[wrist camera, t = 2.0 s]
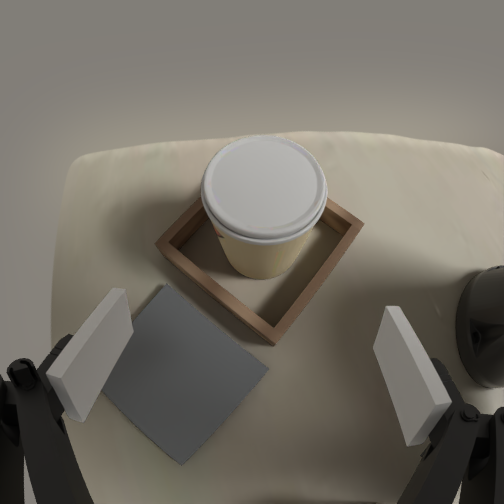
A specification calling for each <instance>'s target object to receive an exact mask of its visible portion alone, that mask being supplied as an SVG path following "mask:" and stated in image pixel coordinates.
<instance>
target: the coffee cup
mask: <svg viewBox="0 0 504 504" xmlns="http://www.w3.org/2000/svg"><path fill="white" fill-rule="evenodd" d="M201 198H202V203H203V206H204V208H205V210H206V212H207V214H208V216H209V218H210V219H211V222H212V224H213V227H214V229H215V232H216V234H217V236H218V239H219V241H220V243H221V246H222V248H223V250H224V252H225V255H226V257H227V259H228V261H229V262H230V264H231V265H232V266H233V267H234V268H235V269H236V270H237V271H238V272H239V273H241V274H243V275H245V276H247V277H250V278H253V279H270V278H274V277H277V276H279V275H281V274H282V273H284V272H285V271H286V270H288V269H289V267H290V266H291V265H292V264H293V262H294V261H295V259H296V257H297V256H298V254H299V252H300V250H301V249H302V247H303V245H304V243H305V241H306V240H307V238H308V236H309V234H310V232H311V230H312V229H313V227H314V225H315V224H316V222H317V221H318V220H319V218H320V217H321V215H322V213H323V211H324V208H325V205H326V201H327V183H326V179H325V176H324V173H323V171H322V169H321V167H320V165H319V163H318V162H317V160H316V159H315V158H314V157H313V155H312V154H311V153H310V152H308V151H307V150H306V149H305V148H303V147H302V146H300V145H299V144H297V143H295V142H293V141H291V140H288V139H286V138H282V137H277V136H271V135H255V136H248V137H244V138H241V139H238V140H236V141H233V142H231V143H229V144H228V145H226V146H225V147H223V148H222V149H221V150H220V151H219V152H217V153H216V154H215V156H214V157H213V158H212V160H211V161H210V163H209V164H208V166H207V168H206V170H205V172H204V175H203V178H202V182H201Z"/></svg>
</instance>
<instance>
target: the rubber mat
mask: <svg viewBox="0 0 504 504" xmlns="http://www.w3.org/2000/svg"><path fill="white" fill-rule="evenodd" d="M132 326H133V331H134V332H133V334H132V336H131V337H130V339H129V341H128V343H127V344H126V346H125V348H124V350H123V351H122V353H121V355H120V357H119V358H118V360H117V362H116V364H115V366H114V367H113V369H112V371H111V373H110V375H109V376H108V378H107V380H106V382H105V384H104V386H103V388H102V389H101V390H102V391H103V392H104V393H105V395H106V396H107V397H108V398H109V399H110V400H111V401H112V402H113V403H114V404H115V405H116V406H117V407H118V408H119V409H120V410H121V411H122V412H123V413H124V414H125V415H126V416H127V417H128V418H129V419H130V420H131V421H132V422H133V423H134V424H135V425H136V426H137V427H138V428H139V429H140V430H141V431H142V432H143V433H144V434H145V435H146V436H148V437H149V438H150V439H151V440H152V441H153V442H154V443H155V444H156V445H158V446H159V447H160V448H161V449H162V450H163V451H164V452H166V453H167V454H168V455H169V456H170V457H172V458H173V459H174V460H175V461H176V462H178V463H179V464H180V465H181V466H182V465H183V464H184V463H185V462H186V461H187V460H188V459H189V458H190V457H191V456H192V455H193V454H194V453H195V452H196V451H197V449H198V448H199V447H200V446H201V445H202V444H203V443H204V442H205V441H206V440H207V439H208V438H209V437H210V436H211V435H212V434H213V433H214V432H215V430H216V429H217V428H218V427H219V426H220V425H221V424H222V423H223V422H224V421H225V420H226V418H227V417H228V416H229V415H230V414H231V413H232V412H233V411H234V410H235V408H236V407H237V406H238V405H239V404H240V403H241V402H242V400H243V399H244V398H245V397H246V396H247V395H248V394H249V392H250V391H251V390H252V389H253V388H254V387H255V385H256V384H257V383H258V382H259V381H260V379H261V378H262V377H263V376H264V375H265V373H266V372H267V371H268V370H269V368H268V367H266V366H265V365H264V364H262V363H261V362H260V361H259V360H257V359H256V358H255V357H253V356H252V355H251V354H250V353H248V352H247V351H246V350H245V349H243V348H242V347H241V346H240V345H238V344H237V343H236V342H235V341H233V340H232V339H231V338H230V337H229V336H227V335H226V334H225V333H224V332H222V331H221V330H220V329H219V328H218V327H216V326H215V325H214V324H213V323H212V322H210V321H209V320H208V319H207V318H206V317H205V316H203V315H202V314H201V313H200V312H199V311H198V310H196V309H195V308H194V307H193V306H192V305H191V304H189V303H188V302H187V301H186V300H185V299H184V298H183V297H182V296H180V295H179V294H178V293H177V292H176V291H175V290H174V289H173V288H171V287H170V286H169V285H168V284H167V283H166V285H165V286H164V287H163V288H162V289H161V290H160V291H159V292H158V294H157V295H156V296H155V297H154V298H153V299H152V300H151V301H150V303H149V304H148V305H147V306H146V307H145V308H144V309H143V311H142V312H141V313H140V314H139V315H138V316H137V317H136V319H135V320H134V321H133V322H132Z"/></svg>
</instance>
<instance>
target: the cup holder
mask: <svg viewBox="0 0 504 504" xmlns="http://www.w3.org/2000/svg"><path fill="white" fill-rule="evenodd" d="M208 218H209V216H208V214H207V212H206V210H205V208H204V206H203V203H202V198H201V197H200V198H199V199H198V200H197V201H196V202H195V203H194V204H193V205H192V206H191V207H190V208H189V209H188V210H187V211H186V212H185V213H184V214H183V215H182V216H181V217H180V218H179V219H178V220H177V221H176V222H175V223H174V224H173V225H172V226H171V227H170V228H169V229H168V230H167V231H166V232H165V233H164V234H163V235H162V236H161V237H160V238H159V239H158V240H157V242H156V243H155V245H156V246H157V248H158V249H159V251H160V252H161V253H162V255H163V256H165V257H166V258H167V259H168V260H169V261H170V262H171V263H173V264H174V265H175V266H176V267H177V268H178V269H179V270H181V271H182V272H183V273H184V274H185V275H186V276H188V277H189V278H190V279H191V280H192V281H193V282H195V283H196V284H197V285H198V286H199V287H200V288H202V289H203V290H204V291H205V292H206V293H208V294H209V295H210V296H211V297H212V298H214V299H215V300H216V301H217V302H218V303H220V304H221V305H222V306H223V307H225V308H226V309H227V310H228V311H229V312H231V313H232V314H233V315H234V316H236V317H237V318H238V319H239V320H241V321H242V322H243V323H244V324H246V325H247V326H248V327H249V328H251V329H252V330H253V331H254V332H256V333H257V334H258V335H259V336H261V337H262V338H263V339H265V340H266V341H267V342H268V343H270V344H271V345H272V346H275V344H276V343H277V342H278V341H279V339H280V338H281V337H282V336H283V334H284V333H285V332H286V331H287V329H288V328H289V327H290V326H291V324H292V323H293V322H294V320H295V319H296V318H297V317H298V315H299V314H300V313H301V311H302V310H303V309H304V307H305V306H306V305H307V303H308V302H309V301H310V300H311V298H312V297H313V296H314V294H315V293H316V292H317V290H318V289H319V287H320V286H321V285H322V283H323V282H324V281H325V279H326V278H327V277H328V275H329V274H330V273H331V271H332V270H333V268H334V267H335V266H336V264H337V263H338V261H339V260H340V259H341V257H342V256H343V254H344V253H345V251H346V250H347V249H348V247H349V246H350V244H351V243H352V241H353V240H354V239H355V237H356V236H357V234H358V233H359V231H360V230H361V228H362V227H363V225H364V223H363V222H362V221H360V220H359V219H358V218H356V217H355V216H353V215H352V214H350V213H349V212H348V211H346V210H345V209H343V208H342V207H340V206H339V205H338V204H336V203H335V202H333V201H332V200H330V199H329V198H327V201H326V205H325V208H324V211H323V213H322V215H321V217H320V218H319V219H320V220H322V221H323V222H324V223H326V224H327V225H329V226H330V227H331V228H333V229H334V230H336V231H337V232H338V233H340V234H341V235H343V236H344V237H343V238H342V240H341V241H340V242H339V244H338V245H337V246H336V248H335V249H334V251H333V252H332V253H331V255H330V256H329V257H328V259H327V260H326V261H325V263H324V264H323V265H322V267H321V268H320V269H319V271H318V272H317V273H316V275H315V276H314V277H313V279H312V280H311V281H310V283H309V284H308V285H307V287H306V288H305V289H304V291H303V292H302V293H301V294H300V296H299V297H298V298H297V300H296V301H295V302H294V303H293V305H292V306H291V307H290V309H289V310H288V311H287V312H286V314H285V315H284V316H283V317H282V319H281V320H280V321H279V322H278V324H277V325H276V326H275V327H274V328H273V327H272V326H271V325H269V324H268V323H267V322H265V321H264V320H263V319H262V318H260V317H259V316H258V315H257V314H255V313H254V312H253V311H251V310H250V309H249V308H248V307H246V306H245V305H244V304H243V303H241V302H240V301H239V300H238V299H236V298H235V297H234V296H233V295H231V294H230V293H229V292H228V291H226V290H225V289H224V288H223V287H221V286H220V285H219V284H218V283H217V282H215V281H214V280H213V279H212V278H210V277H209V276H208V275H207V274H206V273H204V272H203V271H202V270H201V269H200V268H198V267H197V266H196V265H195V264H194V263H192V262H191V261H190V260H189V259H188V258H186V257H185V256H184V255H183V254H182V253H180V252H179V251H178V250H179V249H180V248H181V247H182V246H183V245H184V243H185V242H186V241H187V240H188V239H189V238H190V237H191V236H192V235H193V234H194V233H195V232H196V231H197V230H198V229H199V228H200V227H201V226H202V224H203V223H204V222H205V221H206V220H207V219H208Z"/></svg>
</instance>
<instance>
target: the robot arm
mask: <svg viewBox="0 0 504 504" xmlns="http://www.w3.org/2000/svg"><path fill="white" fill-rule="evenodd" d="M133 332H134V331H133V326H132V321H131V316H130V310H129V305H128V299H127V293H126V289H122V288H114V287H113V288H112V289H111V290H110V292H109V293H108V294H107V295H106V296H105V298H104V299H103V300H102V301H101V302H100V304H99V305H98V306H97V307H96V308H95V310H94V311H93V312H92V313H91V315H90V316H89V317H88V318H87V320H86V321H85V322H84V323H83V325H82V326H81V327H80V328H79V330H78V331H77V332H76V333H75V335H71V334H68V335H67V336H65V337H64V338H62V339H60V341H59V342H58V343H57V344H56V346H55V348H53V349H52V351H51V352H50V354H49V355H48V356H47V357H46V359H45V360H44V361H43V363H42V364H41V365H40V366H39V368H38V369H37V370H36V368H35V366H34V364H33V362H32V361H31V360H30V359H26V358H22V359H18V360H15V361H14V362H12V363H11V364H10V365H9V367H8V368H7V374H8V376H9V378H10V380H11V381H4V380H3V378H2V377H1V375H0V504H24V456H25V460H26V465H27V469H28V473H29V477H30V481H31V484H32V488H33V491H34V495H35V499H36V502H37V504H94V502H93V500H92V498H91V496H90V493H89V491H88V489H87V486H86V484H85V481H84V479H83V477H82V474H81V471H80V469H79V466H78V463H77V461H76V458H75V455H74V452H73V449H72V446H71V443H70V440H69V437H68V434H67V431H66V427H65V424H64V420H63V419H62V417H61V415H62V413H63V412H64V410H65V412H66V414H67V415H68V417H69V418H70V419H73V420H76V421H79V422H82V423H84V422H85V420H86V418H87V416H88V414H89V412H90V410H91V408H92V406H93V404H94V403H95V401H96V399H97V397H98V395H99V393H100V391H101V389H102V388H103V386H104V384H105V382H106V380H107V378H108V376H109V375H110V373H111V371H112V369H113V367H114V366H115V364H116V362H117V360H118V358H119V357H120V355H121V353H122V351H123V350H124V348H125V346H126V344H127V343H128V341H129V339H130V337H131V336H132V334H133ZM456 336H457V344H458V349H459V353H460V356H461V359H462V362H463V364H464V366H465V368H466V370H467V371H468V373H469V374H470V376H471V377H472V378H473V379H474V380H475V381H476V382H477V383H479V384H481V385H482V386H485V387H488V388H500V387H504V266H494V267H491V268H489V269H487V270H485V271H483V272H482V273H480V274H478V275H476V276H475V277H474V278H473V279H472V280H471V281H470V282H469V283H468V285H467V286H466V288H465V290H464V292H463V294H462V296H461V299H460V302H459V306H458V311H457V319H456ZM373 350H374V353H375V355H376V358H377V361H378V363H379V366H380V369H381V371H382V374H383V377H384V380H385V382H386V385H387V388H388V391H389V394H390V396H391V399H392V402H393V405H394V408H395V411H396V414H397V417H398V420H399V423H400V426H401V429H402V432H403V436H404V439H405V442H406V445H407V447H408V446H414V445H419V444H423V442H424V441H425V440H426V438H427V437H428V436H429V438H430V441H431V443H430V444H429V446H428V447H427V448H426V449H425V451H424V452H423V453H422V454H421V457H422V459H421V461H420V463H419V465H418V467H417V469H416V471H415V473H414V475H413V477H412V478H411V480H410V482H409V484H408V486H407V487H406V489H405V491H404V492H403V494H402V496H401V497H400V499H399V501H398V502H397V504H452V503H453V501H454V498H455V496H456V494H457V491H458V489H459V486H460V484H461V481H462V486H461V493H460V499H459V504H504V407H500V408H498V409H497V411H496V412H495V413H494V415H488V414H480V413H479V411H478V410H477V409H476V407H474V406H472V405H470V404H465V403H464V401H463V399H462V397H461V395H460V393H459V391H458V390H457V388H456V386H455V384H454V382H453V381H452V378H451V377H450V375H448V371H447V369H446V368H445V366H444V365H443V364H442V363H441V362H440V361H439V360H438V359H437V358H433V359H429V357H428V355H427V353H426V351H425V350H424V348H423V346H422V344H421V342H420V341H419V339H418V337H417V335H416V334H415V332H414V330H413V329H412V327H411V325H410V323H409V322H408V320H407V318H406V317H405V315H404V313H403V312H402V310H401V308H400V307H399V306H386V307H385V311H384V314H383V317H382V321H381V324H380V327H379V330H378V333H377V336H376V339H375V342H374V345H373Z"/></svg>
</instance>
